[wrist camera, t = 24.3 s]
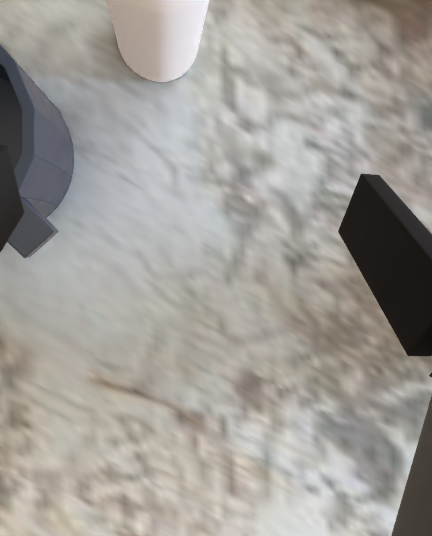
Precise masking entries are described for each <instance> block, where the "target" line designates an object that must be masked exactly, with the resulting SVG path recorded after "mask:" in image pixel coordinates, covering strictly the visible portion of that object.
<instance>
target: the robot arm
mask: <svg viewBox="0 0 432 536" xmlns="http://www.w3.org/2000/svg"><path fill="white" fill-rule="evenodd" d="M23 214H24V209H23V205H22V201H21V198H20V194H19V190H18V186H17V182H16V178H15V174H14V170H13V166H12V162H11V158H10V154H9V150H8V146H7V145H0V252H1V250H2V249H3V247H4V245H5V244H6V242H7V241H8V239H9V237H10V236H11V234H12V232H13V231H14V229H15V227H16V226H17V224H18V222H19V221H20V219H21V218H22V216H23ZM338 232H339V234H340V235H341V237H342V239H343V241H344V243H345V244H346V246H347V248H348V250H349V252H350V253H351V255H352V257H353V259H354V260H355V262H356V264H357V266H358V268H359V269H360V271H361V273H362V275H363V277H364V278H365V280H366V282H367V284H368V285H369V287H370V289H371V291H372V293H373V294H374V296H375V298H376V300H377V302H378V303H379V305H380V307H381V309H382V310H383V312H384V314H385V316H386V318H387V319H388V321H389V323H390V325H391V326H392V328H393V330H394V332H395V334H396V335H397V337H398V339H399V341H400V343H401V344H402V346H403V348H404V350H405V351H406V353H407V355H408V356H432V234H431V233H430V232H429V231H428V230H427V228H426V227H425V226H424V225H423V224H422V223H421V222H420V221H419V219H418V218H417V217H416V216H415V215H414V214H413V213H412V212H411V210H410V209H409V208H408V207H407V206H406V205H405V204H404V203H403V201H402V200H401V199H400V198H399V197H398V196H397V195H396V194H395V192H394V191H393V190H392V189H391V188H390V187H389V186H388V184H387V183H386V182H385V181H384V180H383V179H382V178H381V177H380V175H370V174H361V175H360V178H359V180H358V183H357V185H356V188H355V190H354V193H353V195H352V198H351V201H350V203H349V206H348V208H347V211H346V213H345V216H344V218H343V221H342V223H341V226H340V228H339V231H338ZM429 376H430V377H432V373H431V374H430V375H429ZM392 536H432V396H431V400H430V403H429V407H428V410H427V414H426V417H425V421H424V424H423V428H422V431H421V435H420V438H419V442H418V445H417V449H416V452H415V456H414V459H413V463H412V466H411V470H410V473H409V476H408V480H407V483H406V487H405V490H404V494H403V497H402V501H401V504H400V508H399V511H398V515H397V518H396V522H395V525H394V529H393V532H392Z"/></svg>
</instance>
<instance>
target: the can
mask: <svg viewBox="0 0 432 536" xmlns="http://www.w3.org/2000/svg"><path fill="white" fill-rule="evenodd" d="M107 2H108V6H109V11H110V15H111V19H112V23H113V27H114V31H115V35H116V39H117V43H118V47H119V50H120V52H121V55H122V57H123V59H124V61H125V62H126V64H127V65H128V66H129V67H130V68H131V69H132V70H133V71H134V72H135V73H137V74H138V75H140V76H142V77H144V78H146V79H148V80H151V81H155V82H167V81H172V80H175V79H177V78H179V77H181V76H182V75H183V74H185V73H186V72H187V71H188V70H189V69H190V67H191V66H192V64H193V63H194V61H195V58H196V56H197V52H198V48H199V44H200V40H201V35H202V31H203V26H204V22H205V17H206V12H207V8H208V3H209V0H107Z"/></svg>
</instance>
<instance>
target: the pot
mask: <svg viewBox="0 0 432 536" xmlns="http://www.w3.org/2000/svg"><path fill="white" fill-rule="evenodd" d="M0 145H7V146H8V150H9V154H10V158H11V162H12V166H13V170H14V174H15V178H16V182H17V186H18V190H19V194H20V198H21V201H22V205H23V209H24V214H23V216H22V218H21V219H20V221H19V222H18V224H17V226H16V227H15V229H14V231H13V232H12V234H11V236H10V237H9V239H8V241H7V242H8V243H9V244H10V245H11V246H12V247H13V248H14V249H16V250H17V251H18V252H19V253H20V254H21V255H22V256H23V257H24V258H27V257H31V256H32V255H33V254H34V253H35V252H36V251H37V250H38V249H40V248H41V247H42V246H43V245H44V244H45V243H46V242H47V241H49V240H50V239H51V238H52V237H53V236H54V235H55V234H56V233H58V230H57V229H56V228H55V227H54V226H53V225H52V224H51V223H50V222H49V221H48V220H47V219H46V217H47V216H49V215H50V214H51V213H52V212H53V211H54V210H55V209H56V208H57V206H58V205H59V204H60V202H61V201H62V199H63V198H64V196H65V194H66V192H67V190H68V187H69V185H70V182H71V178H72V174H73V166H74V153H73V144H72V140H71V137H70V134H69V131H68V128H67V126H66V124H65V122H64V120H63V118H62V115H61V113H60V111H59V110H58V109H57V108H56V107H55V105H54V104H53V103H52V102H51V101H50V100H49V99H48V97H47V96H46V95H45V94H44V93H43V92H42V91H41V90H40V88H39V87H38V86H37V85H36V84H35V83H34V82H33V81H32V79H31V78H30V77H29V76H28V75H27V74H26V73H25V72H24V70H23V69H22V68H21V67H20V66H19V65H18V64H17V63H16V61H15V60H14V59H13V58H12V57H11V56H10V55H9V54H8V53H7V52H6V50H5V49H4V48H3V47H2V46H1V45H0Z"/></svg>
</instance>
